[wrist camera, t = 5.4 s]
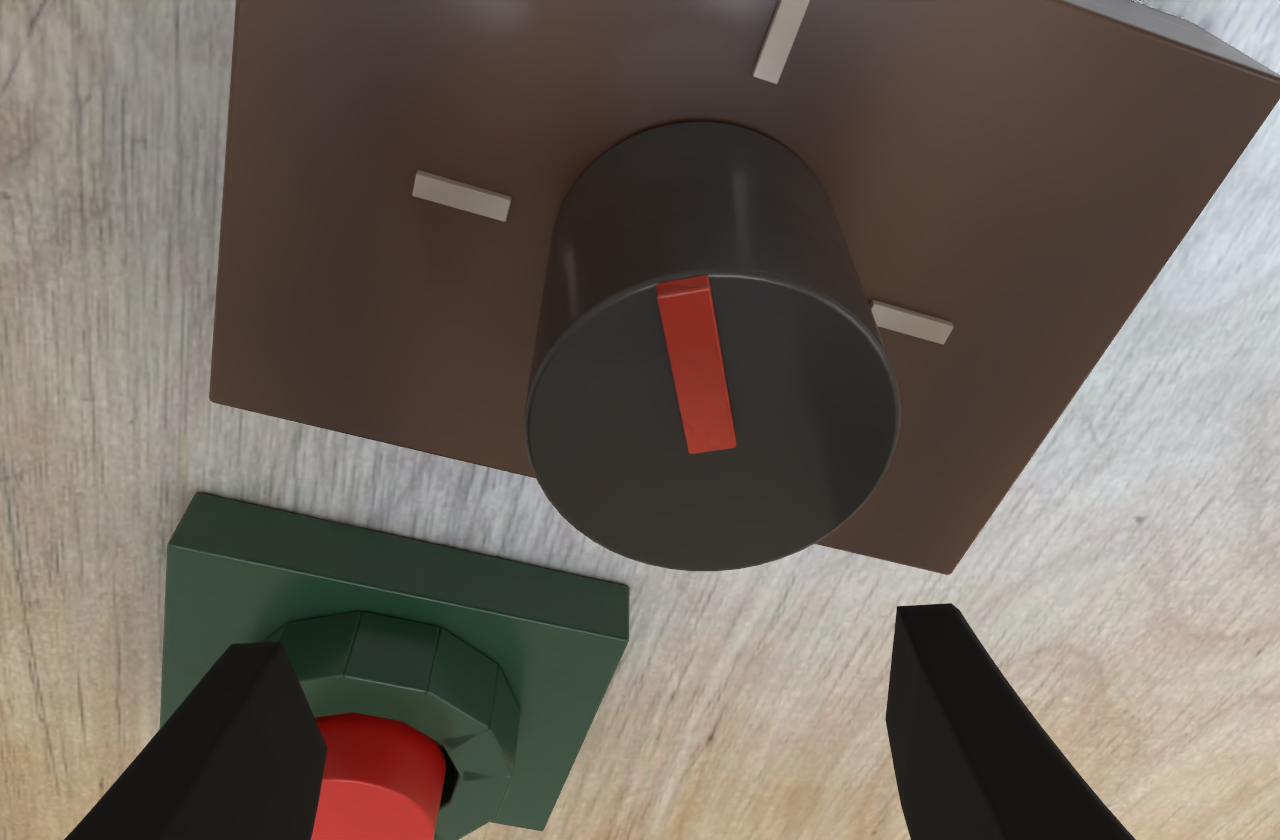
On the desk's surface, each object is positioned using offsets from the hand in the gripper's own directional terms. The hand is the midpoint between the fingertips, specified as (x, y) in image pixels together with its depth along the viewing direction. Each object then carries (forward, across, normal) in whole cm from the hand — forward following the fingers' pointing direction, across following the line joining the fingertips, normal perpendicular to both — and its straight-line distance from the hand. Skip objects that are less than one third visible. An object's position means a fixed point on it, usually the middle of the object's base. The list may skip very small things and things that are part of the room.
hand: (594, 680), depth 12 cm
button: (+6, +6, +10) cm, 13 cm away
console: (+9, -2, -2) cm, 10 cm away
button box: (+9, +6, +10) cm, 15 cm away
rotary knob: (+6, -2, -2) cm, 7 cm away
